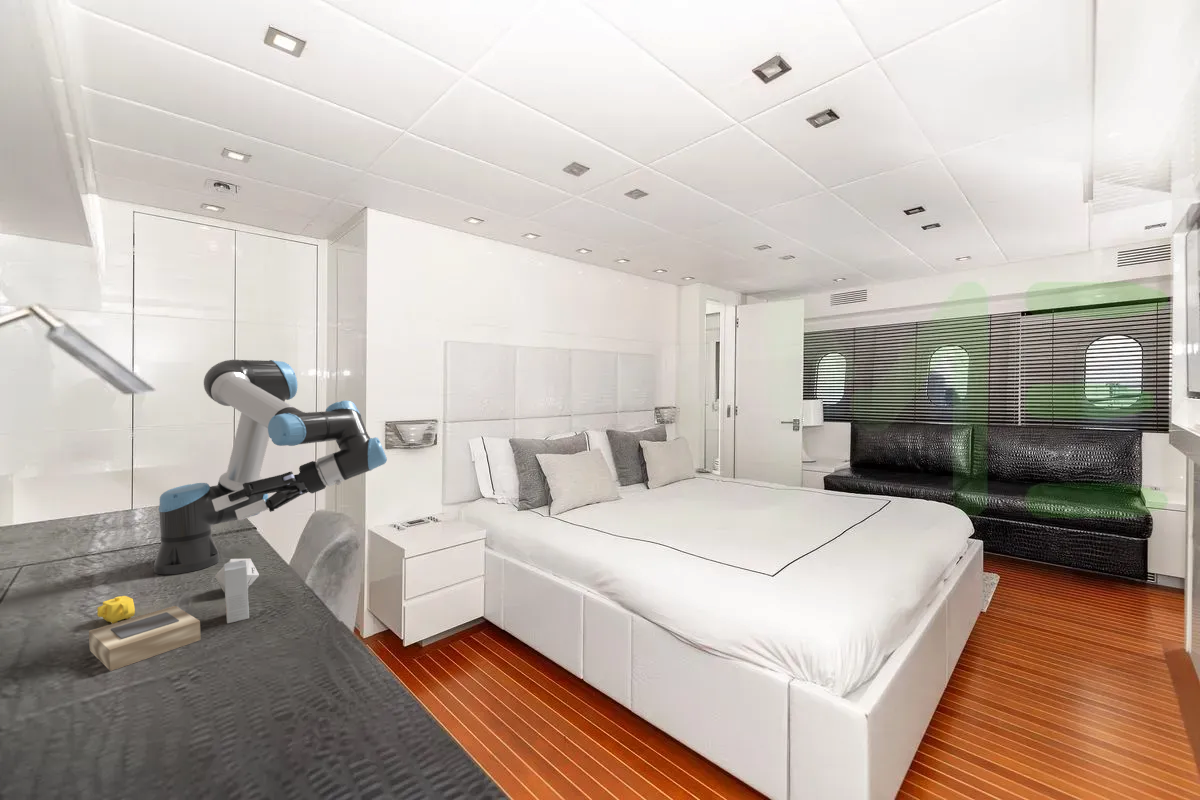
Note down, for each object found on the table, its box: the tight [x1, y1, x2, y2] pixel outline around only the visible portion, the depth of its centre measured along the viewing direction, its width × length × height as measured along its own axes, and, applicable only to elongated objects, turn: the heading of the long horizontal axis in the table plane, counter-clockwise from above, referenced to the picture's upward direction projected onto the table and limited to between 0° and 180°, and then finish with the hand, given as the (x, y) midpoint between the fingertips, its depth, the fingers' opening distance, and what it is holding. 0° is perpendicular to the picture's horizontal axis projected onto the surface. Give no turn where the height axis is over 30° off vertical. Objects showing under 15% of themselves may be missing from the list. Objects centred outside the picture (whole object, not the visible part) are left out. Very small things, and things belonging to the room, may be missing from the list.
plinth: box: [88, 605, 202, 672], centre depth 107 cm, size 14×14×4 cm
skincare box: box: [223, 560, 250, 624], centre depth 119 cm, size 6×4×12 cm
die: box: [214, 558, 260, 594], centre depth 135 cm, size 8×9×10 cm
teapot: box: [96, 595, 136, 624], centre depth 119 cm, size 8×6×5 cm
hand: (225, 511), depth 124 cm, fingers open, 13 cm apart
